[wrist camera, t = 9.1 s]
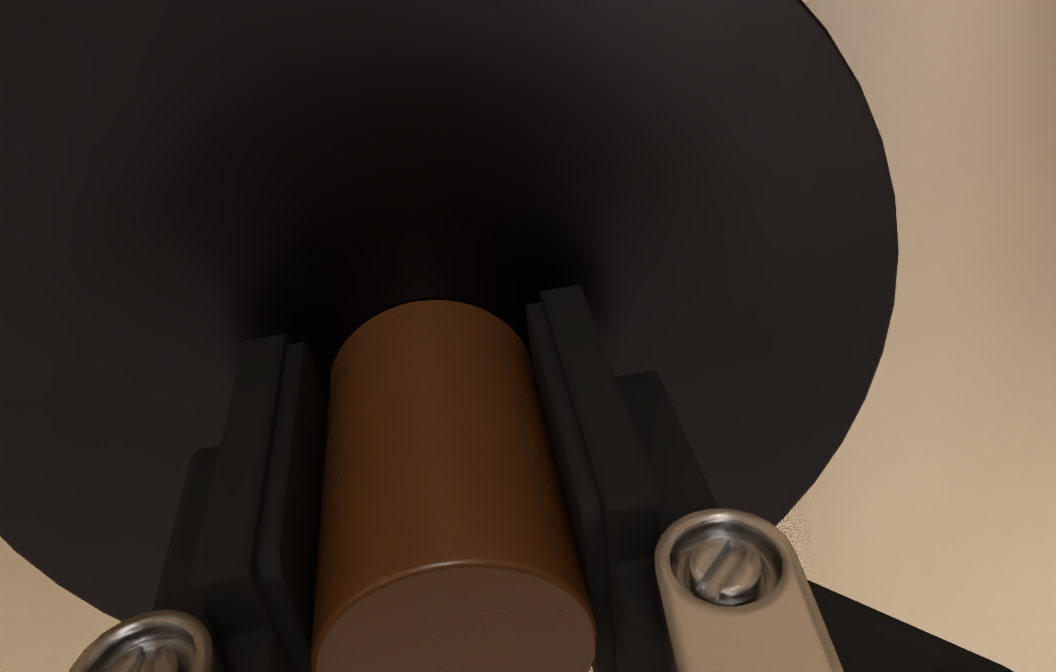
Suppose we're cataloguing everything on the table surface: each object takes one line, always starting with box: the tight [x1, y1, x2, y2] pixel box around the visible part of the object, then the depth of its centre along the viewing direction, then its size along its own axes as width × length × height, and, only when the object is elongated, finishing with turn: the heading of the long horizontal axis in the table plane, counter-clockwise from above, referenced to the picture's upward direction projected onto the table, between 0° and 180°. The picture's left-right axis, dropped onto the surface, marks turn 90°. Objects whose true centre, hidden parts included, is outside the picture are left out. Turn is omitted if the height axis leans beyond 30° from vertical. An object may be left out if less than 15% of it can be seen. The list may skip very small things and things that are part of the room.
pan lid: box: [0, 0, 899, 672], centre depth 11 cm, size 13×13×6 cm
